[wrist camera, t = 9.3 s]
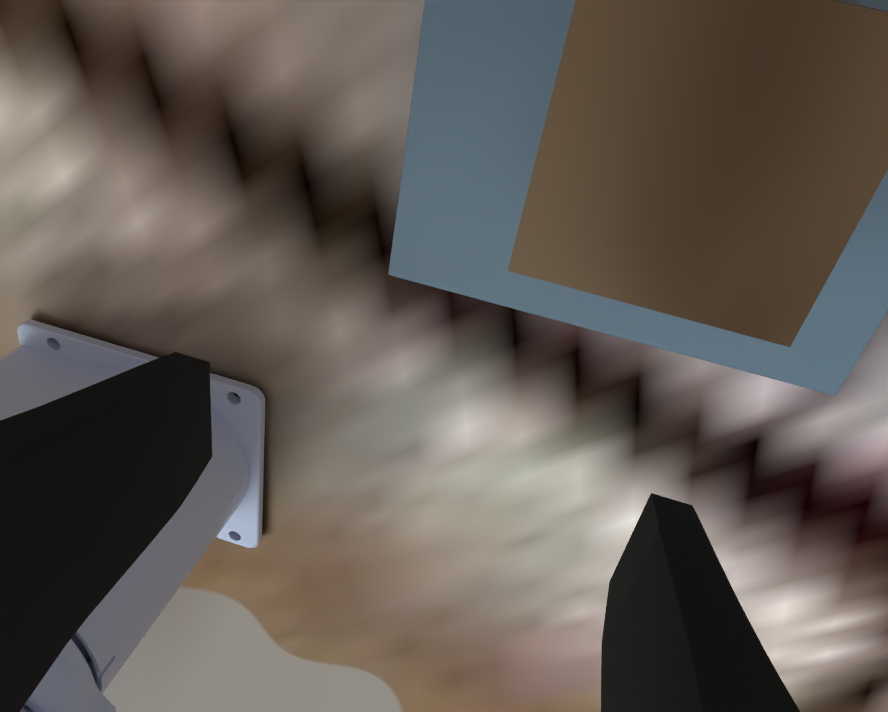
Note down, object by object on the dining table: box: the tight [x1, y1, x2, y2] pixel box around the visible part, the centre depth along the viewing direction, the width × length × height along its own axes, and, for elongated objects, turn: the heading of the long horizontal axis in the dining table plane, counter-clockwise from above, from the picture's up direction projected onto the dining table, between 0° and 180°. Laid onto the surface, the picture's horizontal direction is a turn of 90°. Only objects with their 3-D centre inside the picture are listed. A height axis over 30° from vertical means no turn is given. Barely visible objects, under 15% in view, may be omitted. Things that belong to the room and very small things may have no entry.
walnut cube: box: [508, 0, 888, 347], centre depth 12 cm, size 5×5×5 cm
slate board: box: [388, 0, 888, 396], centre depth 15 cm, size 12×12×1 cm
